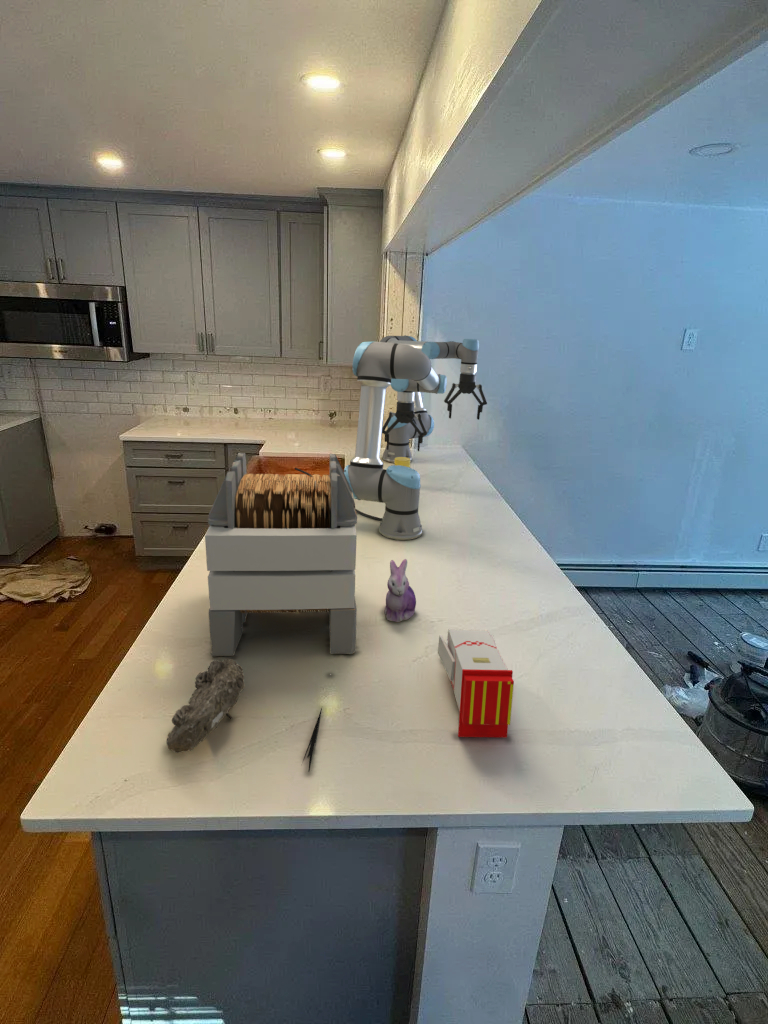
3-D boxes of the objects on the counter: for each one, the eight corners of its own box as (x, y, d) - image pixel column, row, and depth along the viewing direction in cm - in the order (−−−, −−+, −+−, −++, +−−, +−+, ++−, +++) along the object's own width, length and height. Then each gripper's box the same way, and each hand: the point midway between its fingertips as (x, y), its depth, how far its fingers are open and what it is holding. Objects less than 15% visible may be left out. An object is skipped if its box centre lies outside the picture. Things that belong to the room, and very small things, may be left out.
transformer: (231, 587, 157) (223, 443, 143) (348, 585, 161) (352, 445, 147) (208, 658, 125) (196, 482, 112) (356, 654, 129) (361, 484, 115)
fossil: (192, 660, 117) (244, 628, 112) (224, 691, 120) (276, 661, 115) (142, 746, 98) (202, 712, 93) (182, 779, 101) (242, 748, 96)
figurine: (392, 627, 141) (395, 572, 136) (374, 608, 149) (376, 556, 144) (425, 619, 145) (429, 566, 140) (405, 601, 154) (408, 550, 149)
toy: (488, 613, 130) (523, 677, 101) (484, 667, 133) (517, 744, 104) (435, 612, 130) (455, 676, 101) (432, 666, 133) (451, 743, 103)
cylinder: (390, 484, 256) (391, 458, 252) (400, 481, 260) (402, 456, 256) (401, 488, 251) (402, 461, 247) (412, 485, 256) (413, 459, 252)
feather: (331, 679, 122) (336, 673, 122) (307, 777, 96) (313, 769, 95) (324, 675, 122) (329, 669, 121) (298, 772, 95) (304, 764, 95)
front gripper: (434, 401, 246) (430, 449, 254) (377, 398, 247) (375, 446, 254) (435, 404, 239) (431, 453, 247) (376, 401, 240) (374, 450, 247)
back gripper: (442, 373, 261) (439, 418, 269) (496, 375, 262) (491, 421, 269) (440, 371, 268) (437, 416, 276) (492, 373, 269) (488, 418, 276)
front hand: (403, 449), depth 250 cm, fingers open, 13 cm apart
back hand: (463, 418), depth 272 cm, fingers open, 13 cm apart
